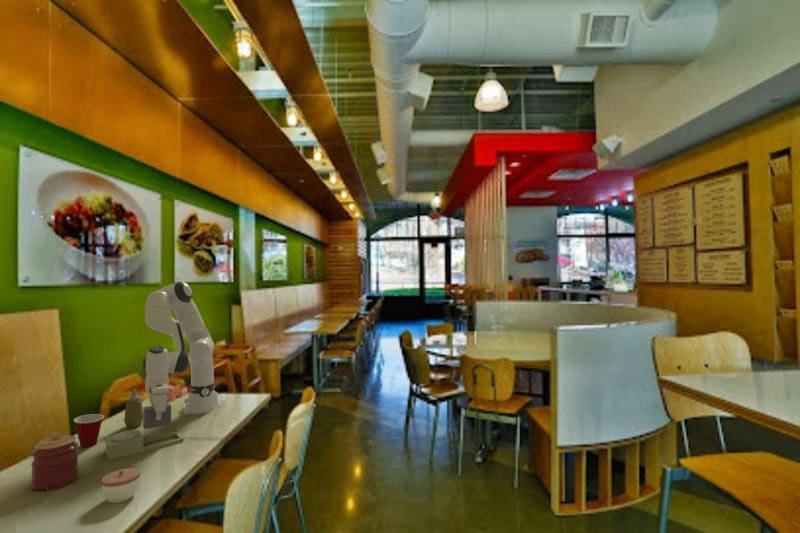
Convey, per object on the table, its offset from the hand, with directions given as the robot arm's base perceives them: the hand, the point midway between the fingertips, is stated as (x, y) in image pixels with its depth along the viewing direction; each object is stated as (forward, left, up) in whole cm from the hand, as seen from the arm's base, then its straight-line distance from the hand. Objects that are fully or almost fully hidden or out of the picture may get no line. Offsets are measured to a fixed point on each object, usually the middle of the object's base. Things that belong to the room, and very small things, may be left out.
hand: (157, 417), depth 184 cm
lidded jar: (+45, -17, -12) cm, 49 cm away
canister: (+16, -34, -12) cm, 39 cm away
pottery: (-74, +20, -12) cm, 78 cm away
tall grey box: (0, 0, -3) cm, 3 cm away
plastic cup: (-18, -23, -12) cm, 32 cm away
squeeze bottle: (-32, -5, -12) cm, 35 cm away
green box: (+1, -6, -11) cm, 13 cm away
